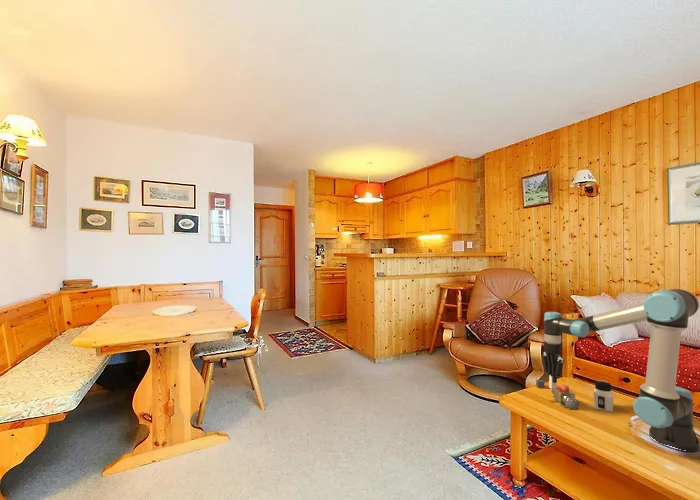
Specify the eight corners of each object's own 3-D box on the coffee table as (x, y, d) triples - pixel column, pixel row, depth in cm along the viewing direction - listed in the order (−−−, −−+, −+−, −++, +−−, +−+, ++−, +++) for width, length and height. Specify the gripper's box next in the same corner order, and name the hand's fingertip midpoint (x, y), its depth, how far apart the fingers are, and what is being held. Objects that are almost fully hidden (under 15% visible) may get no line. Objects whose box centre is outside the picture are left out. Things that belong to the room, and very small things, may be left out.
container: (613, 412, 164) (612, 386, 164) (593, 408, 169) (593, 382, 169) (612, 406, 170) (612, 381, 170) (594, 402, 175) (593, 378, 175)
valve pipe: (580, 410, 166) (579, 397, 167) (565, 409, 168) (564, 396, 168) (564, 396, 182) (564, 384, 182) (550, 395, 183) (550, 384, 183)
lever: (566, 388, 177) (566, 380, 177) (570, 391, 173) (570, 383, 173) (535, 386, 179) (535, 379, 179) (538, 389, 175) (538, 381, 175)
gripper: (569, 345, 165) (569, 392, 164) (548, 338, 177) (548, 382, 177) (556, 346, 163) (556, 394, 163) (536, 339, 176) (536, 383, 176)
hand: (552, 388), depth 170 cm, fingers closed
